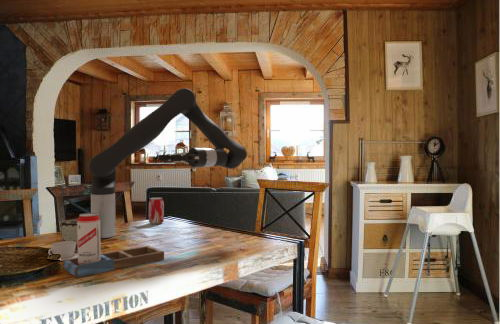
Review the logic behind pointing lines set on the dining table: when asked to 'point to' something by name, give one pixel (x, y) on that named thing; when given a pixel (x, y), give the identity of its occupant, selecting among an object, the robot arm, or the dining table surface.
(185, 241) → the dining table surface
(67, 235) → the food container
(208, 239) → the dining table surface
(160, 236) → the dining table surface
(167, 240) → the dining table surface
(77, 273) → the slotted rack
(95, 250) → the beer can
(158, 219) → the soda can
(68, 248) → the teacup
